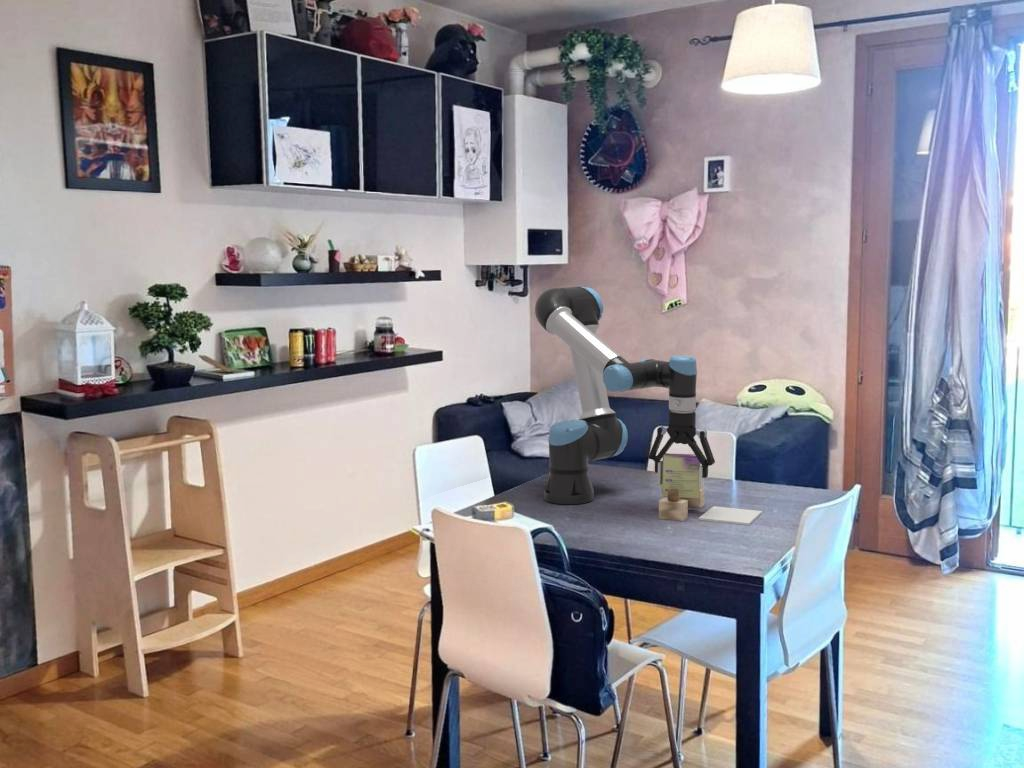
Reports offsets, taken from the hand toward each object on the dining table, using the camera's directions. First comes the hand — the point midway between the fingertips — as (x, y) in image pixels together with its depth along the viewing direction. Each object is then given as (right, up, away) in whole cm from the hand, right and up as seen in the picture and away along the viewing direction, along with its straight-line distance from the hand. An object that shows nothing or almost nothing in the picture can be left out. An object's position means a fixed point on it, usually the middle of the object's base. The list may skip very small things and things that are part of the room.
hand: (680, 486), depth 282 cm
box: (0, -3, 0) cm, 3 cm away
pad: (+13, -8, -6) cm, 16 cm away
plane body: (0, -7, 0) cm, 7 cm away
